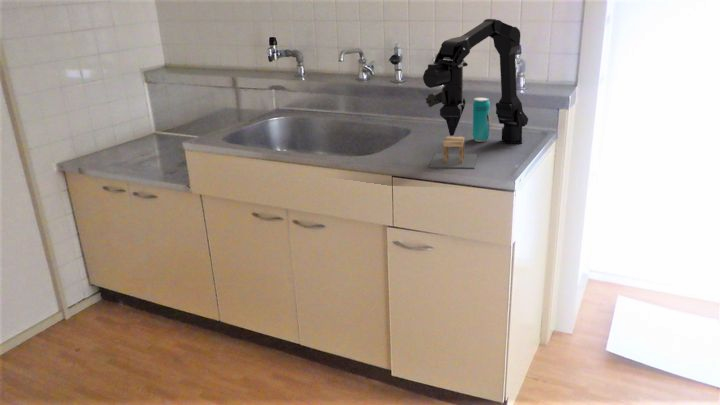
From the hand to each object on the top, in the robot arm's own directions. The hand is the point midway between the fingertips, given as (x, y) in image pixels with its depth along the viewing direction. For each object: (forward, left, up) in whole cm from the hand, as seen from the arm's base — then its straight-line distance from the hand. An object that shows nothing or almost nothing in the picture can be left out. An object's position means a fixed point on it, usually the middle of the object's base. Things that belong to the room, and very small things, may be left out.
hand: (453, 131), depth 191 cm
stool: (0, 0, -10) cm, 10 cm away
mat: (0, 0, -10) cm, 10 cm away
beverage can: (-7, -25, -10) cm, 28 cm away
